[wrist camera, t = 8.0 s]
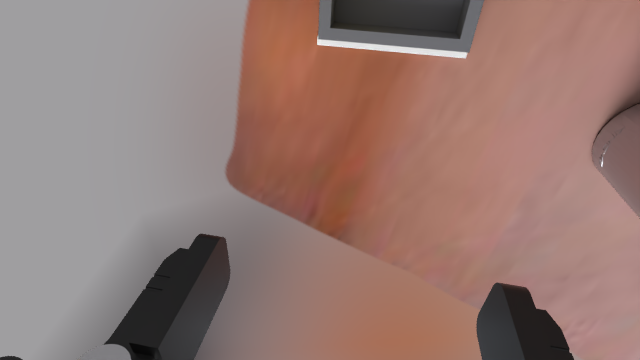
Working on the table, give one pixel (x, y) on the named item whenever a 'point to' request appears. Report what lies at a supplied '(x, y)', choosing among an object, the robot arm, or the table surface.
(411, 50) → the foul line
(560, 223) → the table surface
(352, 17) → the gray open tray
